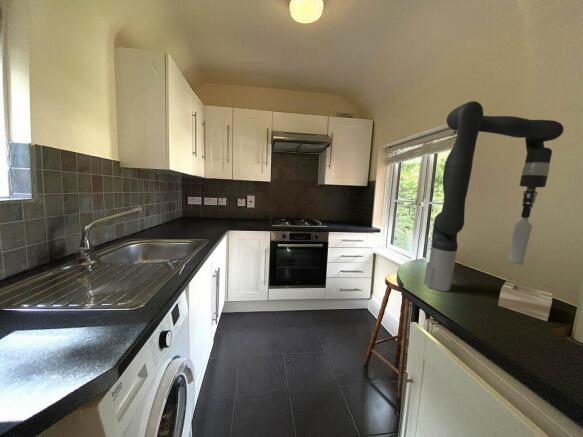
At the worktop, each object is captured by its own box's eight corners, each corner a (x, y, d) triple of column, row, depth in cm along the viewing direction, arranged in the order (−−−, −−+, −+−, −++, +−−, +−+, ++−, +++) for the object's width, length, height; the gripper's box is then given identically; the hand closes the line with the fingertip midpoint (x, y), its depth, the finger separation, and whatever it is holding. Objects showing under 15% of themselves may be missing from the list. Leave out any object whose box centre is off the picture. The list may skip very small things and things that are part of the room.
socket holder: (547, 321, 81) (551, 301, 80) (497, 305, 91) (501, 287, 90) (548, 310, 90) (552, 292, 89) (503, 296, 100) (506, 280, 99)
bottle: (526, 265, 99) (540, 205, 95) (512, 263, 100) (525, 204, 96) (517, 261, 104) (530, 204, 100) (504, 260, 105) (516, 203, 101)
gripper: (547, 173, 89) (536, 219, 92) (548, 176, 98) (538, 218, 101) (519, 173, 95) (510, 216, 97) (523, 176, 104) (514, 215, 106)
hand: (525, 217), depth 99 cm, fingers closed on bottle, 2 cm apart
